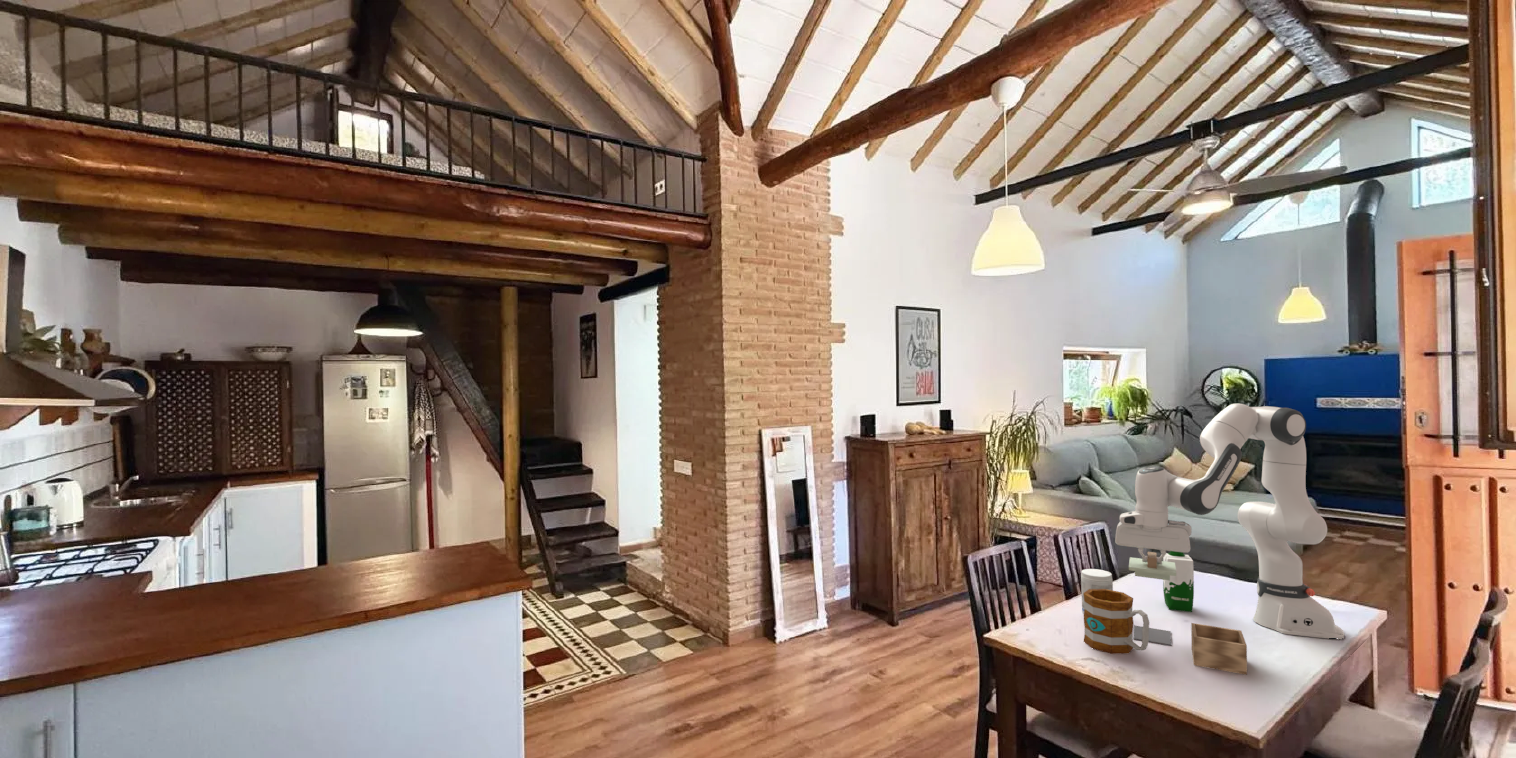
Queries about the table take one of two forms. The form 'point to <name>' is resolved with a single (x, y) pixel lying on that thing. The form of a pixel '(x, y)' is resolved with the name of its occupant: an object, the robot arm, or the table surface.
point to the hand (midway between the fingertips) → (1152, 562)
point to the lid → (1152, 567)
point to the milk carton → (1179, 583)
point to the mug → (1111, 622)
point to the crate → (1219, 648)
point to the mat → (1154, 635)
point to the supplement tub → (1095, 581)
